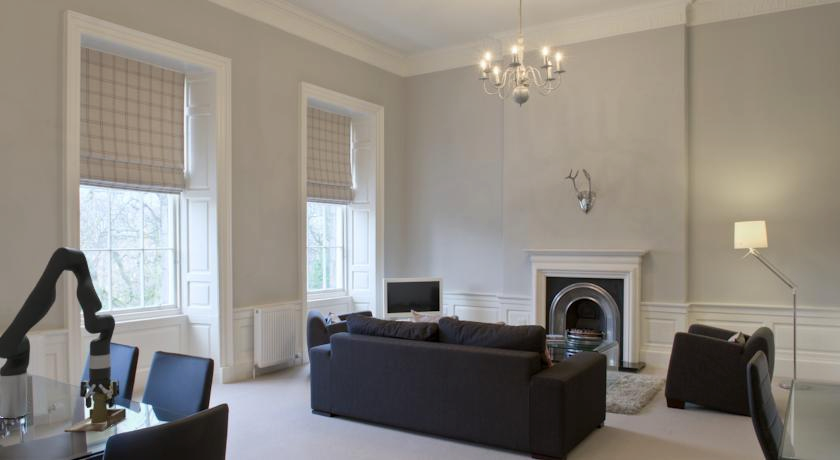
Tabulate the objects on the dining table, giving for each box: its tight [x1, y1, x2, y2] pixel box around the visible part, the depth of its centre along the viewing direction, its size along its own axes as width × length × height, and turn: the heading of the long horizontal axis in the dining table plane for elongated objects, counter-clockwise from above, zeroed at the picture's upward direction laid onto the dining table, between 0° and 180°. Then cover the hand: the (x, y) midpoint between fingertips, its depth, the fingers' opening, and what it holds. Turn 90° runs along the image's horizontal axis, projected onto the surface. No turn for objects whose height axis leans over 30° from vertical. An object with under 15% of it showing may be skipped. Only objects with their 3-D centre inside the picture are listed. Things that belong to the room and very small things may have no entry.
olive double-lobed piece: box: [91, 392, 108, 423], centre depth 240 cm, size 6×6×11 cm
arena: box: [64, 408, 127, 433], centre depth 238 cm, size 14×18×4 cm
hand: (99, 407), depth 240 cm, fingers open, 8 cm apart
